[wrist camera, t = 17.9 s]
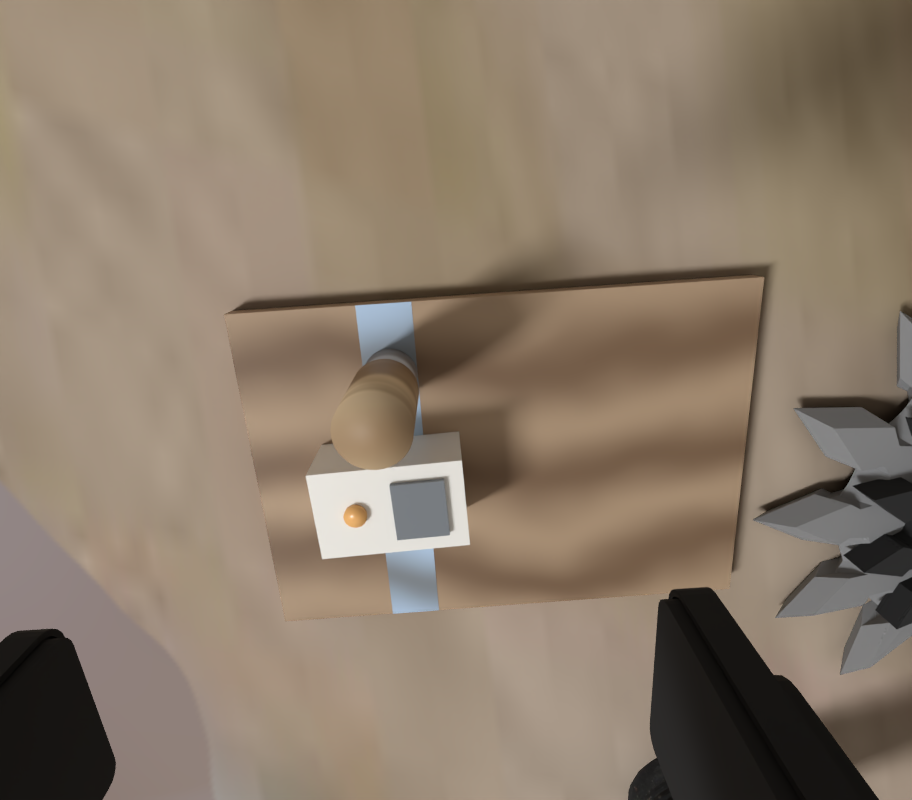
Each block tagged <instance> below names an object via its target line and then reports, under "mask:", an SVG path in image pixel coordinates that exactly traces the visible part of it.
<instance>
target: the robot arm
mask: <svg viewBox="0 0 912 800" xmlns="http://www.w3.org/2000/svg"><path fill="white" fill-rule="evenodd" d="M650 734H651V740H652V744H653V748H654V751H655V754H656V756H657V759H658V762H659V764H660V767H661V769H662V772H663V775H664V777H665V780H666V782H667V785H668V788H669V790H670V793H671V795H672V798H673V800H879V799H878V798H877V796H876V795H875V794H874V792H873V791H872V789H871V788H870V787H869V785H868V784H867V783H866V781H865V780H864V779H863V777H862V776H861V775H860V773H859V772H858V770H857V769H856V768H855V766H854V765H853V764H852V762H851V761H850V760H849V758H848V757H847V756H846V754H845V753H844V751H843V750H842V749H841V747H840V746H839V745H838V743H837V742H836V741H835V739H834V738H833V736H832V735H831V734H830V732H829V731H828V730H827V728H826V727H825V726H824V724H823V723H822V722H821V720H820V719H819V717H818V716H817V715H816V713H815V712H814V711H813V709H812V708H811V707H810V705H809V704H808V703H807V701H806V700H805V698H804V697H803V696H802V694H801V693H800V692H799V690H798V689H797V688H796V687H795V686H794V685H793V684H792V682H791V681H790V680H788V679H787V678H785V677H783V676H782V675H773V674H772V672H771V671H770V670H769V668H768V667H767V665H766V664H765V662H764V661H763V660H762V658H761V657H760V655H759V654H758V653H757V651H756V650H755V648H754V647H753V645H752V644H751V643H750V641H749V640H748V638H747V637H746V636H745V634H744V633H743V631H742V630H741V628H740V627H739V626H738V624H737V623H736V621H735V620H734V619H733V617H732V616H731V614H730V613H729V611H728V610H727V609H726V607H725V606H724V604H723V603H722V602H721V600H720V599H719V597H718V596H717V594H716V593H715V592H714V591H713V590H712V589H711V588H709V587H699V588H683V589H673V590H671V592H670V594H669V599H664V600H660V602H659V606H658V619H657V632H656V646H655V660H654V674H653V688H652V702H651V716H650ZM115 765H116V762H115V757H114V754H113V752H112V749H111V746H110V743H109V741H108V738H107V735H106V732H105V730H104V727H103V724H102V722H101V719H100V716H99V713H98V711H97V708H96V705H95V702H94V700H93V697H92V694H91V691H90V689H89V686H88V683H87V680H86V678H85V675H84V672H83V669H82V667H81V664H80V661H79V659H78V656H77V653H76V650H75V647H74V645H73V643H72V641H71V640H70V639H68V638H65V637H64V635H63V633H62V632H61V631H59V630H57V629H41V630H26V631H17V632H14V633H11V634H10V635H9V636H7V637H6V638H5V639H4V640H3V641H2V642H0V800H102V799H103V798H104V796H105V794H106V792H107V791H108V789H109V787H110V785H111V783H112V781H113V777H114V773H115Z"/></svg>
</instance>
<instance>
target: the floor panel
mask: <svg viewBox="0 0 912 800" xmlns="http://www.w3.org/2000/svg"><path fill="white" fill-rule="evenodd" d="M763 284H764V277H761V276H756V275H742V276H728V277H714V278H699V279H685V280H670V281H656V282H642V283H627V284H613V285H598V286H584V287H569V288H555V289H541V290H526V291H512V292H497V293H483V294H469V295H454V296H440V297H425V298H411V299H396V300H382V301H368V302H353V303H339V304H324V305H310V306H296V307H281V308H267V309H252V310H238V311H231V312H228V313H226V314H224V317H225V322H226V327H227V332H228V337H229V342H230V347H231V352H232V357H233V362H234V367H235V372H236V377H237V382H238V387H239V392H240V397H241V402H242V407H243V412H244V417H245V422H246V427H247V432H248V437H249V442H250V447H251V452H252V457H253V462H254V467H255V472H256V477H257V482H258V487H259V492H260V497H261V502H262V507H263V512H264V517H265V522H266V527H267V532H268V537H269V542H270V547H271V552H272V557H273V562H274V567H275V572H276V577H277V582H278V587H279V592H280V597H281V602H282V607H283V612H284V617H285V621H297V620H310V619H324V618H338V617H351V616H365V615H378V614H392V613H393V614H395V613H408V612H422V611H435V610H446V609H460V608H473V607H487V606H500V605H514V604H528V603H541V602H555V601H568V600H582V599H595V598H609V597H623V596H636V595H650V594H663V593H670V592H671V590H673V589H683V588H699V587H709V588H711V589H712V590H718V589H729V587H730V579H731V570H732V561H733V552H734V543H735V534H736V525H737V516H738V507H739V498H740V489H741V480H742V472H743V463H744V454H745V445H746V436H747V427H748V418H749V409H750V400H751V391H752V382H753V373H754V365H755V356H756V347H757V338H758V329H759V320H760V311H761V302H762V293H763ZM383 349H396V350H400V351H402V352H404V353H406V354H407V355H408V356H409V357H410V358H411V359H412V360H413V362H414V363H415V365H416V368H417V373H418V378H417V382H418V386H419V398H418V406H417V413H416V421H415V429H414V436H417V435H427V434H437V433H448V432H458V431H459V436H460V446H461V457H462V467H463V477H464V487H465V497H466V508H467V518H468V529H469V539H470V545H464V546H453V547H443V548H433V549H423V550H412V551H402V552H392V553H381V554H371V555H361V556H351V557H340V558H330V559H322V556H321V551H320V546H319V541H318V536H317V531H316V526H315V521H314V516H313V511H312V506H311V501H310V496H309V491H308V486H307V481H306V474H307V472H308V470H309V468H310V466H311V464H312V462H313V460H314V458H315V456H316V454H317V453H318V451H319V449H320V447H321V445H325V444H333V442H332V439H331V432H330V429H331V422H332V418H333V416H334V414H335V412H336V410H337V408H338V406H339V404H340V403H341V401H342V399H343V397H344V395H345V393H346V392H347V390H348V388H349V386H350V384H351V382H352V380H353V379H354V377H355V375H356V373H357V372H358V371H359V369H360V368H361V367H363V366H364V365H365V364H366V362H367V361H368V359H369V358H370V357H371V356H372V355H373V354H374V353H376V352H378V351H380V350H383Z"/></svg>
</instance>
